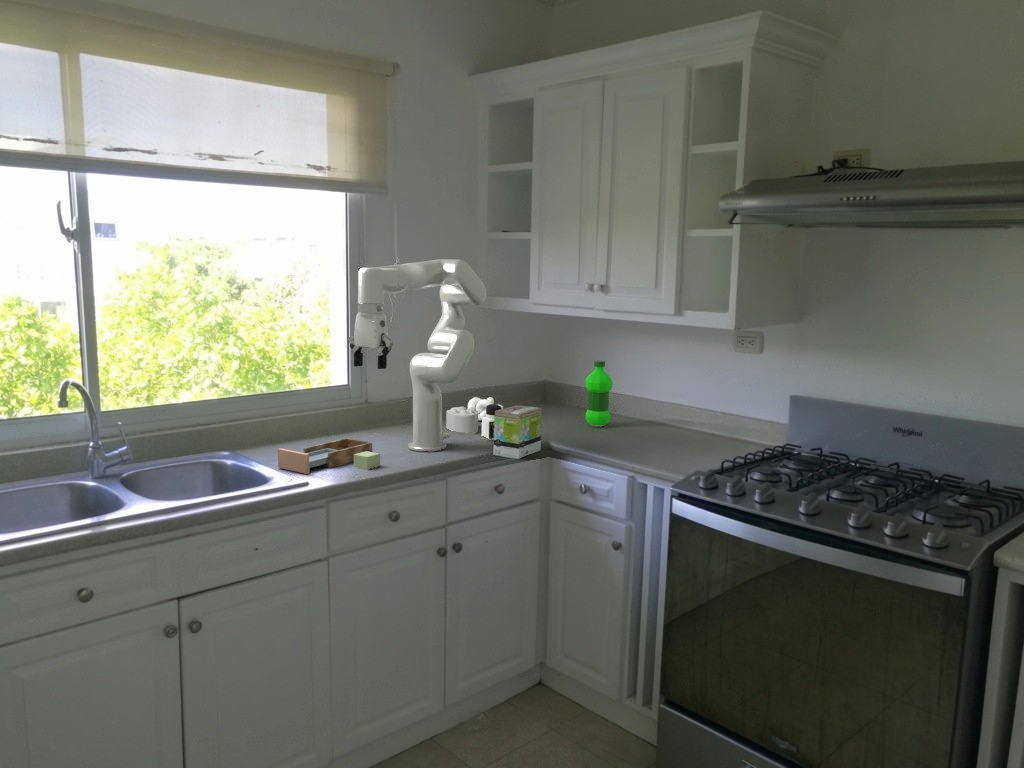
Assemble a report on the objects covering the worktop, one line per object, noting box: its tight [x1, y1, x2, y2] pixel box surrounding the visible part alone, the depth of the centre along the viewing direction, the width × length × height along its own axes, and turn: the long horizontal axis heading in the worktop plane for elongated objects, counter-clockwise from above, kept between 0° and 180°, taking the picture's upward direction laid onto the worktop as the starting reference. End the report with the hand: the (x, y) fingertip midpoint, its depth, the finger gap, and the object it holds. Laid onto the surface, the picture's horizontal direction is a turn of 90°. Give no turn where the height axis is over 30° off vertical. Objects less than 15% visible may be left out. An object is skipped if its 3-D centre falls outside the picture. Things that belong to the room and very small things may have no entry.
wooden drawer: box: [277, 447, 338, 475], centre depth 237 cm, size 18×12×6 cm, turn 146°
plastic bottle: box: [585, 360, 613, 426], centre depth 302 cm, size 10×10×25 cm
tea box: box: [492, 404, 543, 460], centre depth 257 cm, size 15×10×15 cm, turn 151°
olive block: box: [353, 451, 381, 470], centre depth 237 cm, size 6×6×4 cm
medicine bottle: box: [481, 403, 504, 439], centre depth 279 cm, size 7×7×12 cm
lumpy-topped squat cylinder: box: [445, 406, 479, 433], centre depth 290 cm, size 10×13×9 cm
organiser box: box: [303, 437, 373, 469], centre depth 245 cm, size 18×11×4 cm, turn 146°
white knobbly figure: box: [467, 396, 495, 420], centre depth 312 cm, size 11×12×9 cm
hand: (369, 367), depth 236 cm, fingers open, 9 cm apart
